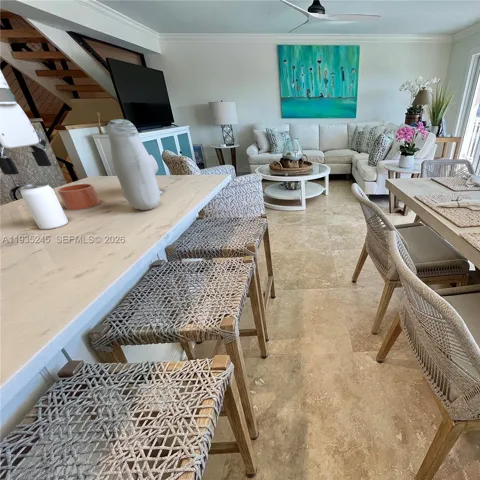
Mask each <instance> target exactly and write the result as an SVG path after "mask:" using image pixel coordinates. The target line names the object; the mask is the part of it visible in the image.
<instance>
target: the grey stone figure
mask: <svg viewBox="0 0 480 480" xmlns="http://www.w3.org/2000/svg"><path fill="white" fill-rule="evenodd" d="M106 131H107V136H108V141H109V145H110V146H109V147H110V155H111V162H112V167H113V166H114V168H113V170H114V169H115V171H114V173H115V172H116V173H115V174H116V177H117V179H118V181H119V184H120V187H121V190H122V193H123V195H124V199H126V201H127V203H128V204H129V205H130V206H131V207H133V208H134V209H135V210H140V211H148V210H152V209H155V208H156V207H158V206H159V204H160V202H161V194H160V187H159V184H158V179H157V176H156V174H155V171H154V168H153V164H152V161H151V159H150V156H149V154H150V153H148V151H147V149H146V147H145V145H144V144H143V141H142V139H141V136H140V134H139V132H138V130H137V128H136V126H135V124H133V123H132V122H131V121H130V120H128V119H125V118H124V119H123V118H116V119H112V120H110V121H108V123H107V125H106Z"/></svg>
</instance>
